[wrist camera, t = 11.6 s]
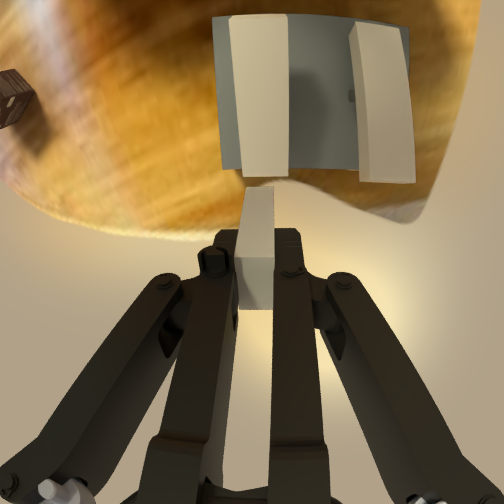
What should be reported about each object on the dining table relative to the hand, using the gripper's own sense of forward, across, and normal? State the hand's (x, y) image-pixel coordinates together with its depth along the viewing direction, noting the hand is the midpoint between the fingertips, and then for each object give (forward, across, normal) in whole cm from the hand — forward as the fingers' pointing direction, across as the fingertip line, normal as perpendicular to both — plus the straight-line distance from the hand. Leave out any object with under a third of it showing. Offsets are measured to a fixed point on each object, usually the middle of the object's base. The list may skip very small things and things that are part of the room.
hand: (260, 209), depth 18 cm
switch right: (+11, +10, +5) cm, 16 cm away
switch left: (+12, 0, +5) cm, 13 cm away
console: (+19, +5, +5) cm, 20 cm away
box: (+19, -34, +11) cm, 40 cm away
